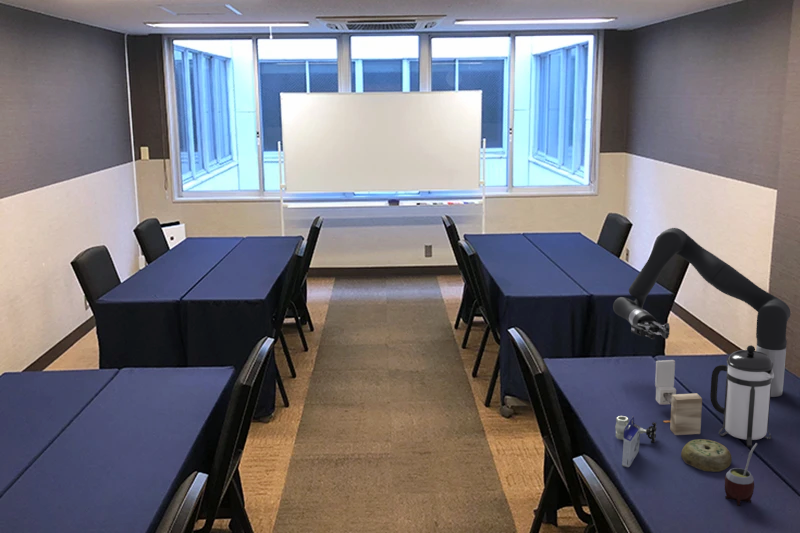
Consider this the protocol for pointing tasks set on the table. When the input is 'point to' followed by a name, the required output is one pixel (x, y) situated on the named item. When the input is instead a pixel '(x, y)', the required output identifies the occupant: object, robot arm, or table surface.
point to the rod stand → (684, 413)
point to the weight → (706, 455)
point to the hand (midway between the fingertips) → (660, 336)
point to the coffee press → (745, 394)
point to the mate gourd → (740, 483)
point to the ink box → (630, 442)
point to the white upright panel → (664, 380)
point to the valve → (623, 421)
